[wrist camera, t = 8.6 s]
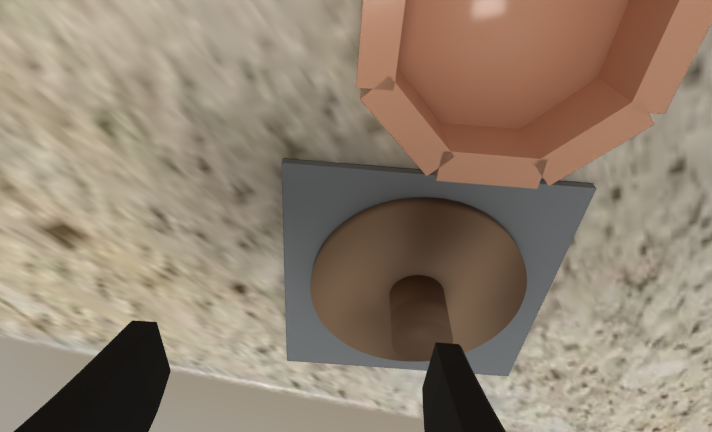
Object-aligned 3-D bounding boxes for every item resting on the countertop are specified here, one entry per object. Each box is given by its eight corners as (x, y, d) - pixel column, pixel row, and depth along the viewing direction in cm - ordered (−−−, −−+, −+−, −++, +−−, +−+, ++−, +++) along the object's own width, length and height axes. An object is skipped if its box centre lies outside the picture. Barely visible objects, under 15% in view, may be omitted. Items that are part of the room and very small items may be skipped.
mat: (592, 183, 19) (596, 188, 19) (506, 370, 27) (507, 376, 27) (283, 158, 19) (281, 163, 19) (288, 355, 27) (287, 360, 27)
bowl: (711, -150, 13) (811, -169, 10) (583, 152, 19) (622, 195, 16) (377, -184, 13) (379, -212, 10) (352, 133, 18) (349, 173, 15)
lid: (536, 188, 19) (568, 241, 16) (510, 346, 25) (529, 406, 22) (294, 204, 20) (280, 257, 17) (327, 353, 26) (321, 412, 23)
